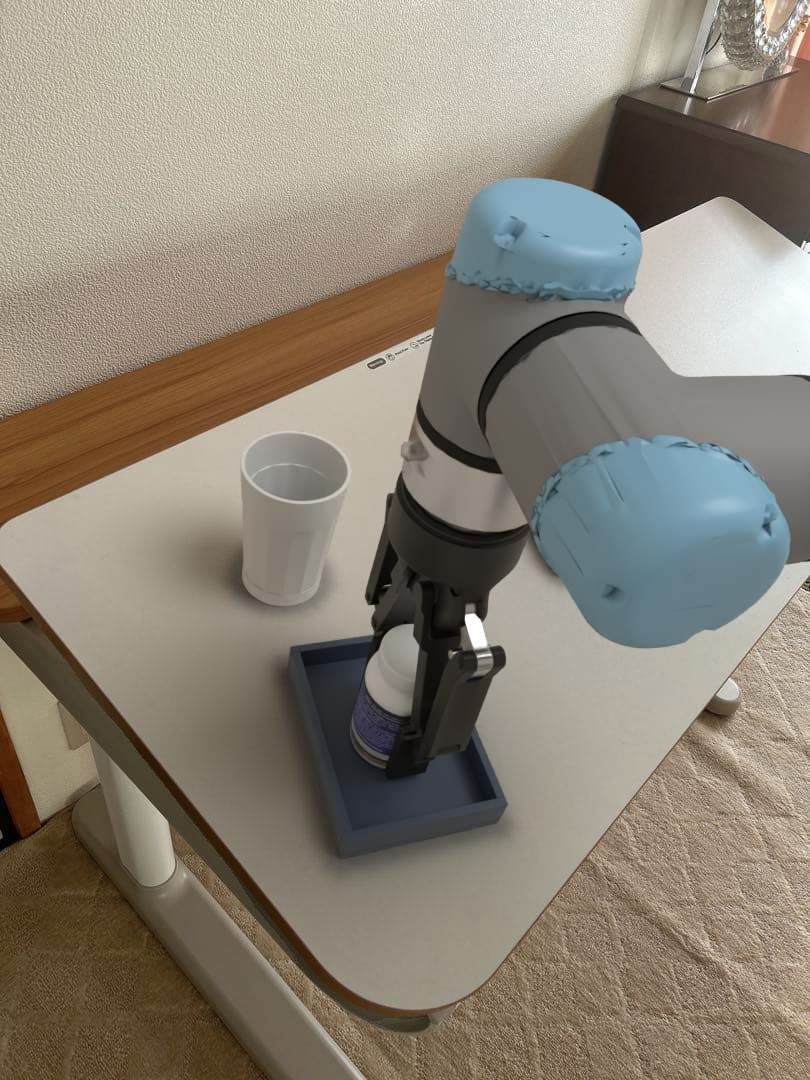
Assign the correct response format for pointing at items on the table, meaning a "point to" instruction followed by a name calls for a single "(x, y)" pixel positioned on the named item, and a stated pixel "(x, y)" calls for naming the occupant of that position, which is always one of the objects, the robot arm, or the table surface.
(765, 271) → the table surface
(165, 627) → the table surface
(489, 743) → the table surface
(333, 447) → the cup
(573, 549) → the robot arm
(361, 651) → the tray
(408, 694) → the pill bottle
